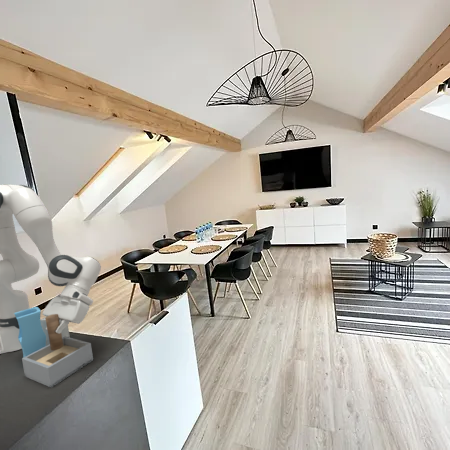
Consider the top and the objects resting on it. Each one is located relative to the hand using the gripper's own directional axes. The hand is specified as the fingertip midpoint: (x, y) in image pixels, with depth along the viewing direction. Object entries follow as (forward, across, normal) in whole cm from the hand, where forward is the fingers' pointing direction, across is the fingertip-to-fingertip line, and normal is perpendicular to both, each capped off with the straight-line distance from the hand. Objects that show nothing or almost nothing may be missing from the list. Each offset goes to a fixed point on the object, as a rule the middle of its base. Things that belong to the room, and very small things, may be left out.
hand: (52, 331), depth 100 cm
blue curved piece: (+10, -16, +11) cm, 22 cm away
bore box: (+10, 0, +11) cm, 15 cm away
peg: (+4, 0, +5) cm, 6 cm away
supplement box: (+2, -20, +19) cm, 28 cm away
